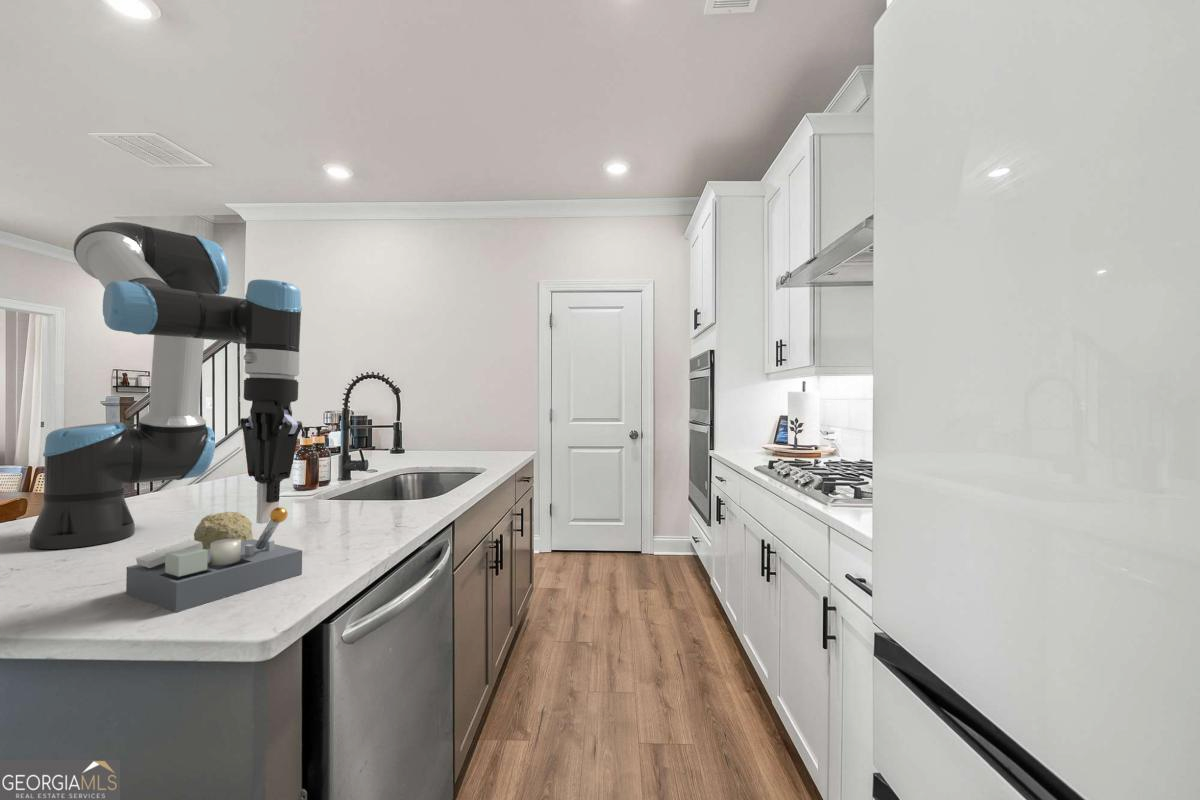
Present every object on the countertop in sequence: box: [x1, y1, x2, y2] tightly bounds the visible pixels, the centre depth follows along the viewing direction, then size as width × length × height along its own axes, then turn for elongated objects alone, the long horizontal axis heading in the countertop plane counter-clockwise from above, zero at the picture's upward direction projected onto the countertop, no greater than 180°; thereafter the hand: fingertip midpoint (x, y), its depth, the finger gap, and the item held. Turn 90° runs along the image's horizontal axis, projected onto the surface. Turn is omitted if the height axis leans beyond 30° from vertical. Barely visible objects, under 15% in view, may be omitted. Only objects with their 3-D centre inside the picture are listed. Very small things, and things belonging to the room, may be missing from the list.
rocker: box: [135, 538, 203, 568], centre depth 80 cm, size 4×7×1 cm, turn 153°
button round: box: [210, 539, 241, 565], centre depth 80 cm, size 4×4×3 cm
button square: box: [165, 547, 208, 577], centre depth 76 cm, size 4×4×3 cm
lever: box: [255, 506, 288, 549], centre depth 85 cm, size 2×2×9 cm
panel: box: [125, 538, 303, 613], centre depth 83 cm, size 14×18×6 cm
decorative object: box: [193, 511, 254, 550], centre depth 98 cm, size 9×10×10 cm
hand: (267, 521), depth 85 cm, fingers closed
